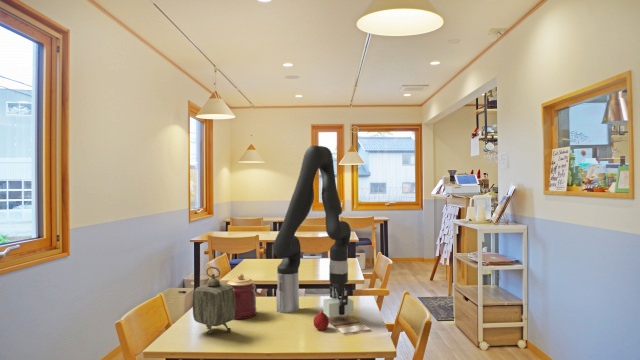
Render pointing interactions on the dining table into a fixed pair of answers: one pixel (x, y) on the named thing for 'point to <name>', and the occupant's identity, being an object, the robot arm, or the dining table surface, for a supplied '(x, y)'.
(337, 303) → the block
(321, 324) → the onion
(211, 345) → the dining table surface
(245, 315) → the canister
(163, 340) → the dining table surface
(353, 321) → the board
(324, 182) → the robot arm
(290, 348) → the dining table surface
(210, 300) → the tabletop clock
